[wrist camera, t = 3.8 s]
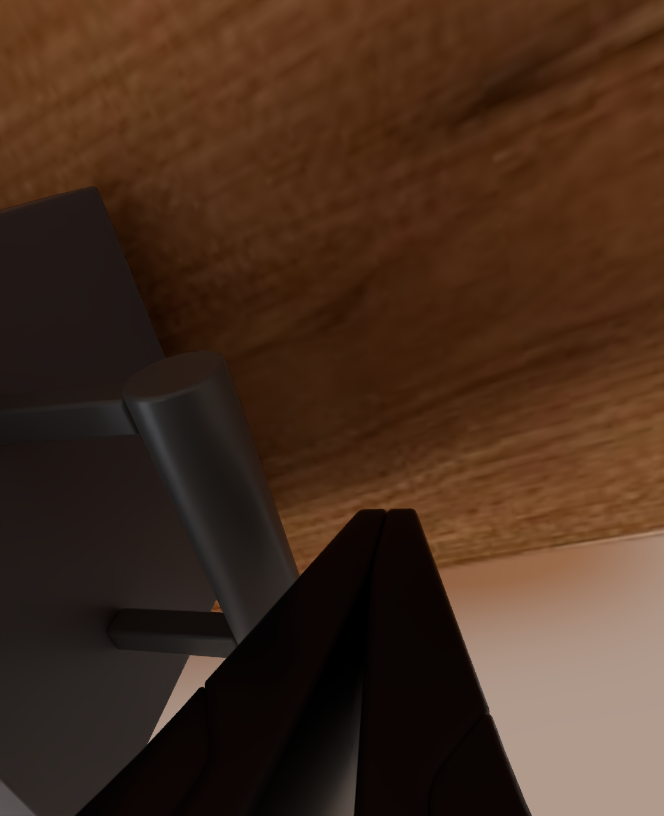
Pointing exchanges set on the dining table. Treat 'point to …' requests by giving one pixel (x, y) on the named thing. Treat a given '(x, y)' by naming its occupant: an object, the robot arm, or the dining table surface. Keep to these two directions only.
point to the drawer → (110, 510)
